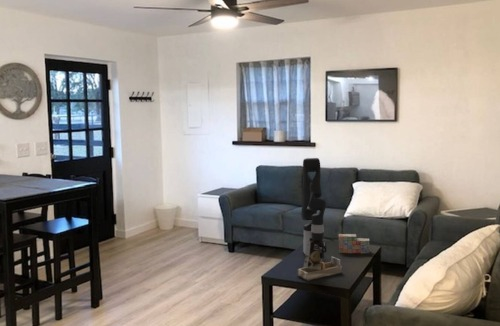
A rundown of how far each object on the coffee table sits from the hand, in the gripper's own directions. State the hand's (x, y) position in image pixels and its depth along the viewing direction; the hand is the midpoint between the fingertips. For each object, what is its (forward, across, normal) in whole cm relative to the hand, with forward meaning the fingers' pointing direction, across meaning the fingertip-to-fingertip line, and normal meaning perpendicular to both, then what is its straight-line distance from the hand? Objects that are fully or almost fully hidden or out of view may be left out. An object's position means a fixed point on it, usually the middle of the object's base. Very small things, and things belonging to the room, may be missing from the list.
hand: (317, 256), depth 289 cm
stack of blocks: (+12, -23, +49) cm, 55 cm away
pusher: (+10, 0, +2) cm, 11 cm away
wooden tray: (+11, 0, +1) cm, 11 cm away
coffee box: (+7, 0, -5) cm, 8 cm away
